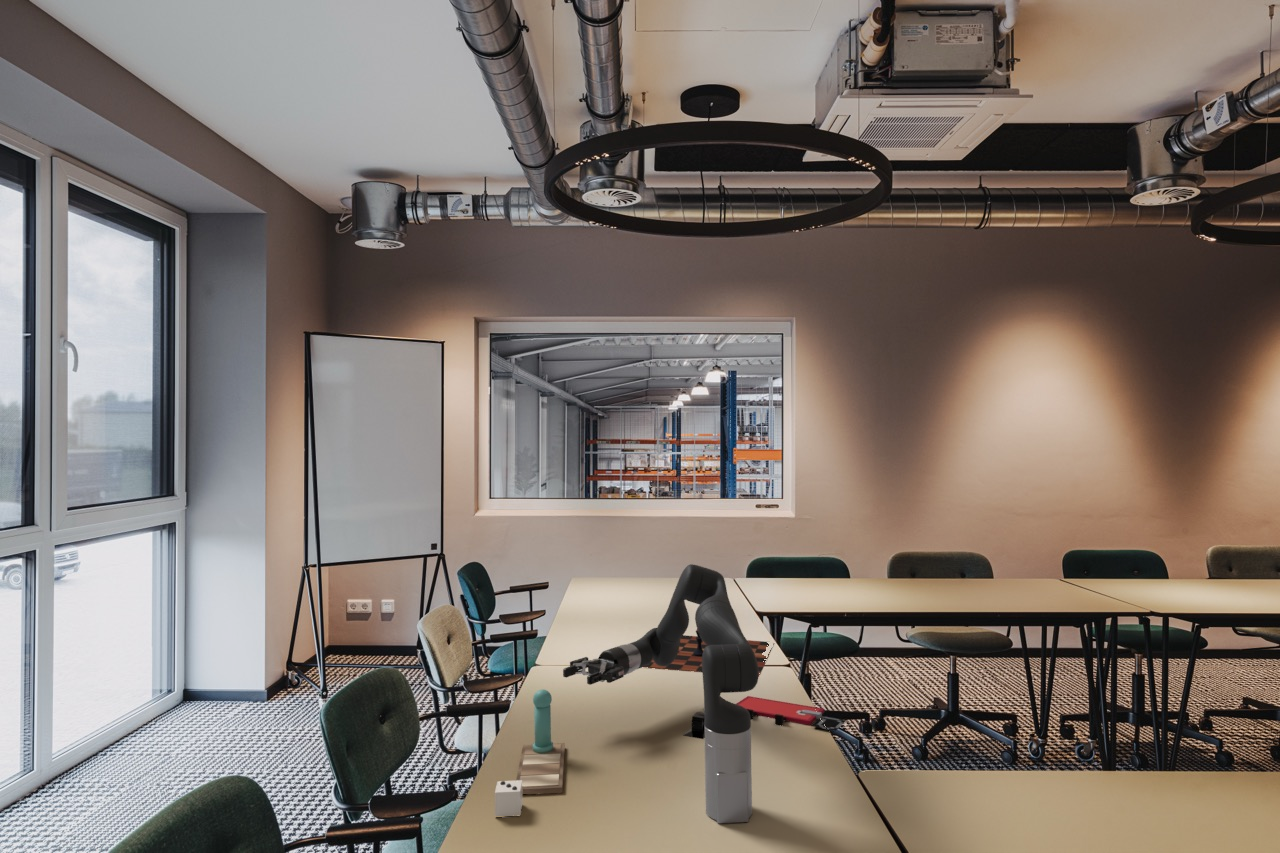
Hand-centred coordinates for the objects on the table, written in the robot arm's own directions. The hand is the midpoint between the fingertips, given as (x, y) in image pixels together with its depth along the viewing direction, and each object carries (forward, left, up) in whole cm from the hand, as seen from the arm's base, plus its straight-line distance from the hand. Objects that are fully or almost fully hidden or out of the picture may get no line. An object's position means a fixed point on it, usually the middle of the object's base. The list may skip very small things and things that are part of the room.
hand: (575, 676), depth 193 cm
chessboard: (+70, -44, -17) cm, 84 cm away
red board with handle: (+10, -56, -16) cm, 59 cm away
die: (-35, +13, -16) cm, 40 cm away
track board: (-16, +8, -16) cm, 24 cm away
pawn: (-8, +8, -14) cm, 18 cm away
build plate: (+3, -31, -16) cm, 35 cm away
